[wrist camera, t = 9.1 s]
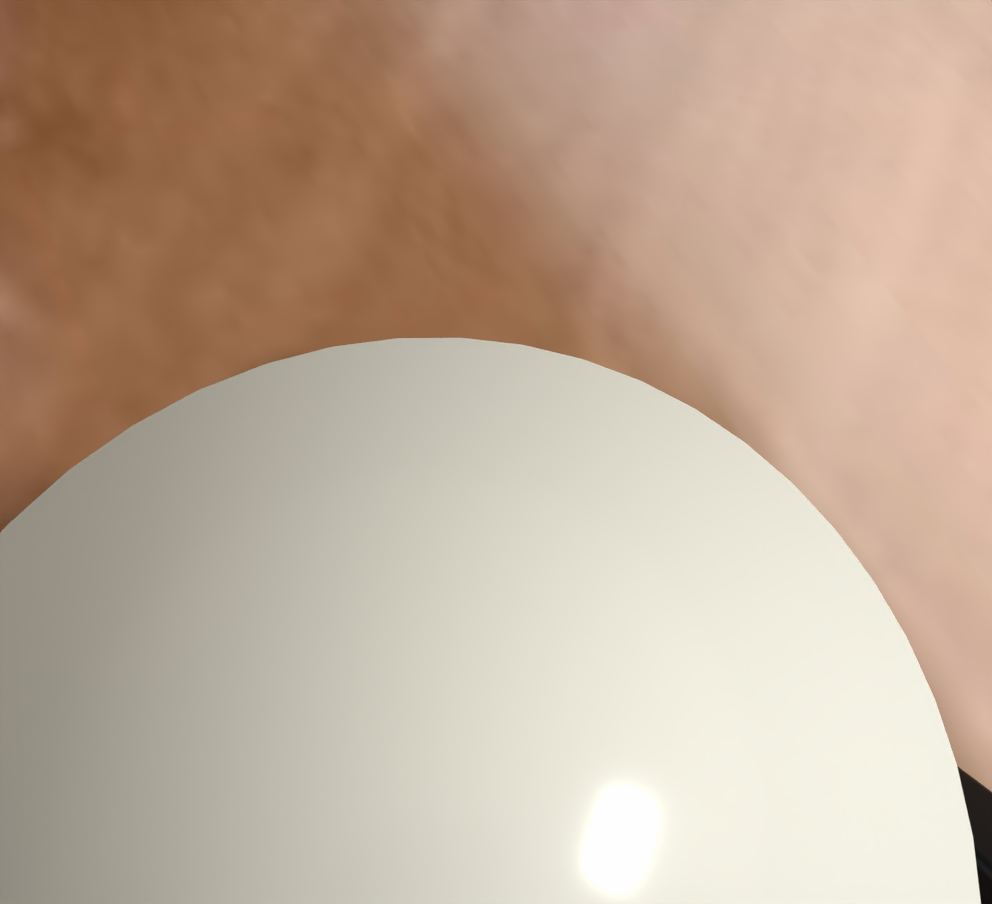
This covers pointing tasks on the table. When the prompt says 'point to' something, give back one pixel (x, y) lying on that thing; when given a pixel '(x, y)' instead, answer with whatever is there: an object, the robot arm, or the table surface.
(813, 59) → the table surface
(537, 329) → the table surface
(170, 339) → the table surface
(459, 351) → the white cylinder
